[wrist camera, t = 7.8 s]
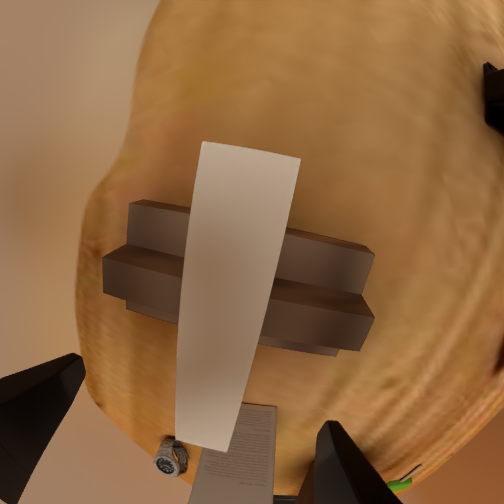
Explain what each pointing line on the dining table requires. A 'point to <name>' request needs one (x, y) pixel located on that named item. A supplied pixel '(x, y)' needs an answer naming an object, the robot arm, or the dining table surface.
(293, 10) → the dining table surface
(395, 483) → the popsicle
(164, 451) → the wristwatch
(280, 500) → the phone
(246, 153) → the light gray bar
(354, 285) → the ridge block
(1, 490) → the robot arm
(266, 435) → the skincare box
